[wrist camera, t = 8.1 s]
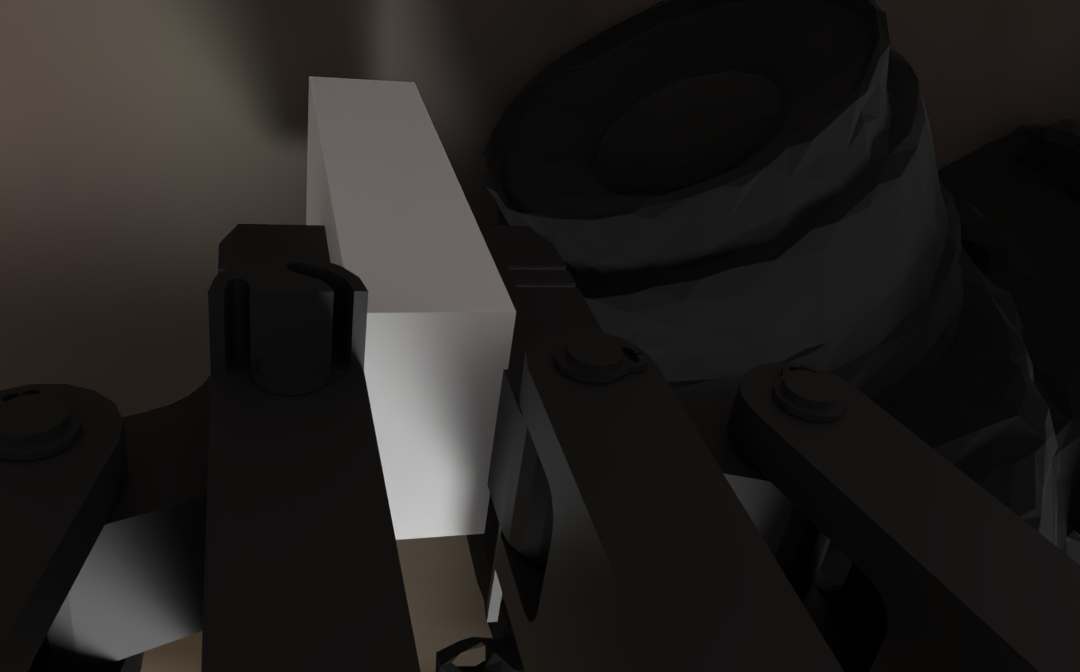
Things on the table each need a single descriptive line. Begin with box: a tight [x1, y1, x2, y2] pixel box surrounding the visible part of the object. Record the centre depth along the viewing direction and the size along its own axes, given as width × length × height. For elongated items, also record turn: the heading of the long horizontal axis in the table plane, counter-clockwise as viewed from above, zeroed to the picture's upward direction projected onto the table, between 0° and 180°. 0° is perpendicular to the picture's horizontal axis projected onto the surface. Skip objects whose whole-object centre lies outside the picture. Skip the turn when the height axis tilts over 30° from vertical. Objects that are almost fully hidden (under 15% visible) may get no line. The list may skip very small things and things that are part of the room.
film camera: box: [435, 0, 1080, 672], centre depth 15 cm, size 15×10×9 cm, turn 113°
